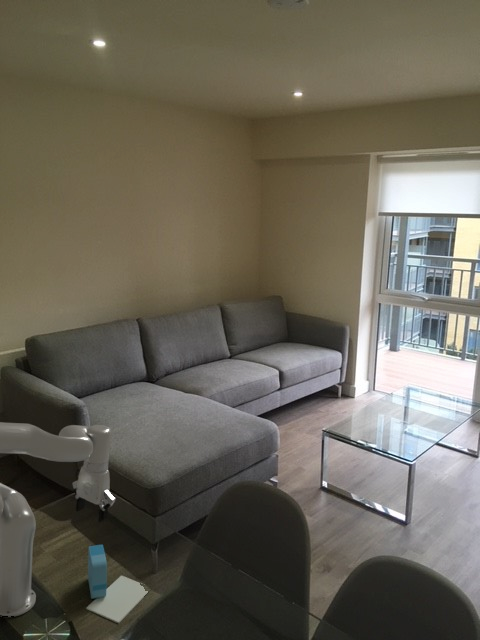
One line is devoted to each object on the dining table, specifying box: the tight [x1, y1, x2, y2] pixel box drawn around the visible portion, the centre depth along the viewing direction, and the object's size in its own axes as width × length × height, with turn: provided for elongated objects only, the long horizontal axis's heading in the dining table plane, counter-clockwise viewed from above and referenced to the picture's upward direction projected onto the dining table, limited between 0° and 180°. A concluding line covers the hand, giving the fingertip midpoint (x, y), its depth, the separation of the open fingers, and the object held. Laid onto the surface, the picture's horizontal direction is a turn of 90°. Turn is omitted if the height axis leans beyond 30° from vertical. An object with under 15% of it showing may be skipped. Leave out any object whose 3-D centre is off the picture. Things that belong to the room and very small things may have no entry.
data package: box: [87, 544, 108, 600], centre depth 172 cm, size 12×4×12 cm, turn 21°
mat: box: [85, 575, 149, 624], centre depth 169 cm, size 12×18×1 cm, turn 157°
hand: (91, 514), depth 172 cm, fingers open, 9 cm apart
